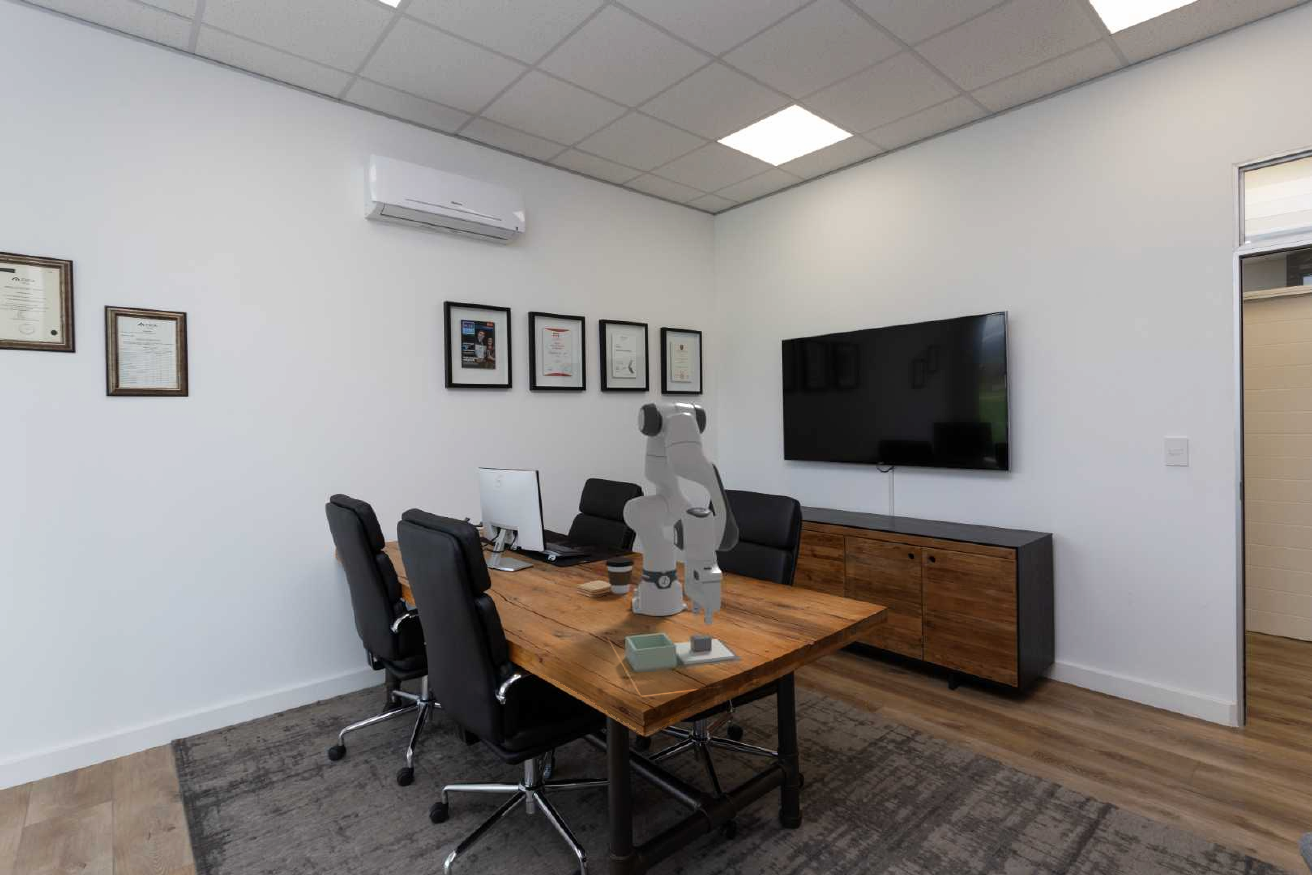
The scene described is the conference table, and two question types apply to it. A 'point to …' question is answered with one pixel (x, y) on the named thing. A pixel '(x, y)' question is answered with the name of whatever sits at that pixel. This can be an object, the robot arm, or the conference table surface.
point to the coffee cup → (620, 573)
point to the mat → (711, 661)
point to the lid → (702, 650)
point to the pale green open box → (650, 652)
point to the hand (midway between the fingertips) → (702, 619)
